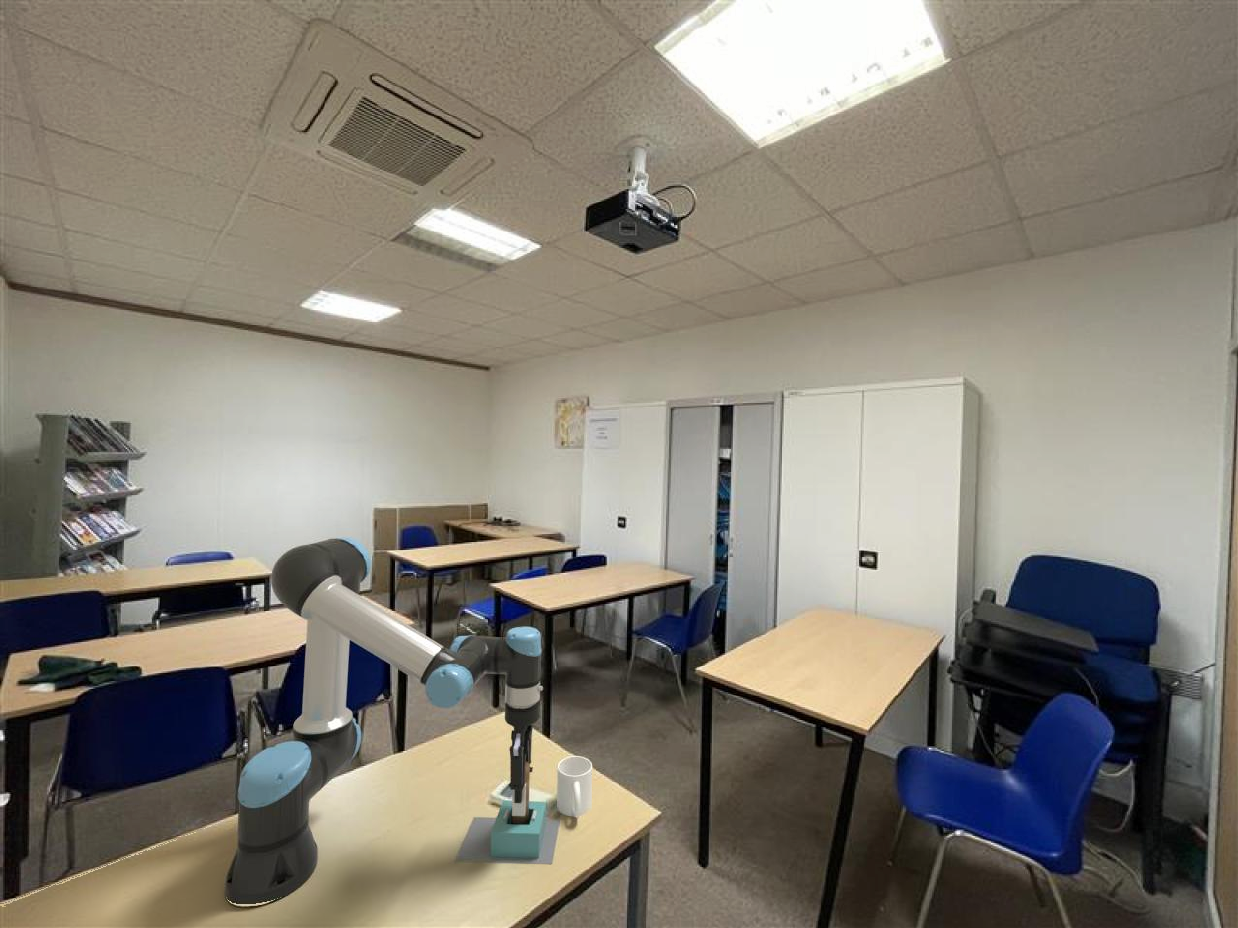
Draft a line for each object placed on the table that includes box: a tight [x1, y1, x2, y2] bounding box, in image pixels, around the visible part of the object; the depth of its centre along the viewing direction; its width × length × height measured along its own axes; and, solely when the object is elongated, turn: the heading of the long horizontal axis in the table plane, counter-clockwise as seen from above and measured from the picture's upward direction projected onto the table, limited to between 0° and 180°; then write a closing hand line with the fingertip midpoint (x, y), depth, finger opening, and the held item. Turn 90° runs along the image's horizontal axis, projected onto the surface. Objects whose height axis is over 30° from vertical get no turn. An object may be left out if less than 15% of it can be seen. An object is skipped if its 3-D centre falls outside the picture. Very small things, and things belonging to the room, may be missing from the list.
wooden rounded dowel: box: [511, 762, 531, 825], centre depth 109 cm, size 4×4×14 cm
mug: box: [556, 755, 593, 819], centre depth 119 cm, size 12×8×10 cm
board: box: [454, 816, 561, 865], centre depth 109 cm, size 20×13×1 cm, turn 89°
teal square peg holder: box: [491, 799, 548, 858], centre depth 109 cm, size 10×10×6 cm
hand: (520, 808), depth 109 cm, fingers closed on wooden rounded dowel, 3 cm apart
